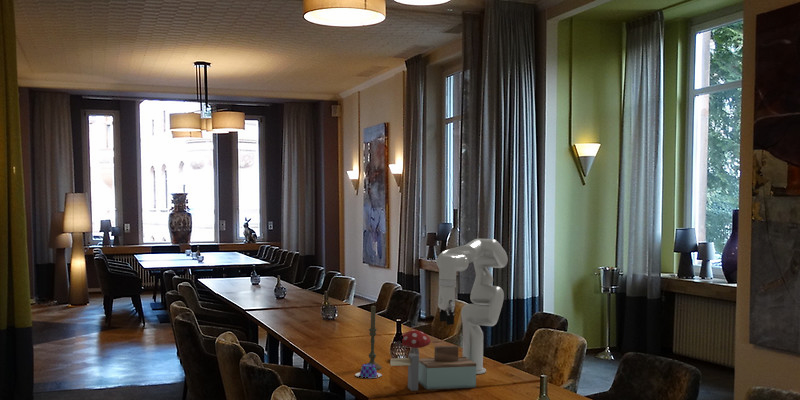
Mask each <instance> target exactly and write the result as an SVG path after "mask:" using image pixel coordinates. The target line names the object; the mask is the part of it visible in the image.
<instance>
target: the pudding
mask: <svg viewBox="0 0 800 400" xmlns="http://www.w3.org/2000/svg"><path fill="white" fill-rule="evenodd" d="M377 371H378V370H376V367H375V365H374V364H367V363H363V364H362V365H361V368H360V372H357V373H355V375H354V376H356V377H358V378H361V379H362V378H363V377H365V378H363V379H376V378H380V377H381V376H383V374H381V373H379V372H377ZM377 375H378V377H377ZM359 376H361V377H359ZM366 377H368V378H366Z"/></svg>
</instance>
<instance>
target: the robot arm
mask: <svg viewBox="0 0 800 400" xmlns="http://www.w3.org/2000/svg"><path fill="white" fill-rule="evenodd" d="M508 261H509V260H508V255H507V251H505V249H504V248H503V246H502V244H501V243H500V242H499V241H497V239H493V238H474V239H473V240H470V241H469V242H467V243H466V244H465V245H460V246H457V247H451V248H449V249H446V250H443V251H442V252H440V253H439V255H438V256H437V258H436V266H437V268H438V273H439V274H438V288H439V290H438V300H437V301H438V302H437V303H438V304H437V306H438V307H437V308H439V321H440V322H446V325H447V326H448V325H449V326H450V325H451V326H452V325H455V311H456V310H455V308H456V292H455V288H457V272H464V271H466V270H467V269H468V267H469V264H470V263H473V268H474V271H475V277H474V278H475V279H474V282H473V285H472V288H471V290H470V291H471V292H470V295H469V296H470V301H471V302H472V303H468V304H465V305H464V306H463V307H462V308H461V312H460V314H461V321H462V322H461V323H462V357H467V358H468V359H470V360H471V361H473V362H475V363H476V375H482V374H485V373H487V369H486V368H485V367H484V364H483V363H484V362H483V361H484V331H483V330H482V328H481V326H485V327H494V326H495V325H497V323H498V321H499V317H500V314H501V311H502V308H503V303H504V299H505V293H504V290H503V289H502V287H500V286H497V285H493V283H494V277H493V275H492V273H491V271H489V269H488V268H491V269H492V268H493V269H494V268H495V269H502V268H505V267H507V265H508Z"/></svg>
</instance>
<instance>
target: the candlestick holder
mask: <svg viewBox="0 0 800 400" xmlns="http://www.w3.org/2000/svg"><path fill="white" fill-rule="evenodd" d="M368 331H369V333H368V334H369V336H371V337H370V353H369V354H368V358H369V362H367V363H366V364H374V365H375V367H376V371H378V370H381V369H383V367H382V365H380V364H379V363H377V362H376V361H375V359H376V357H377V353H375V351H374V350H375V341H376V340H375V336H376V335H377V331H378V329H377V328H376V306H375V305H374V304H372V306H370V328H369V329H368Z"/></svg>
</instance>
